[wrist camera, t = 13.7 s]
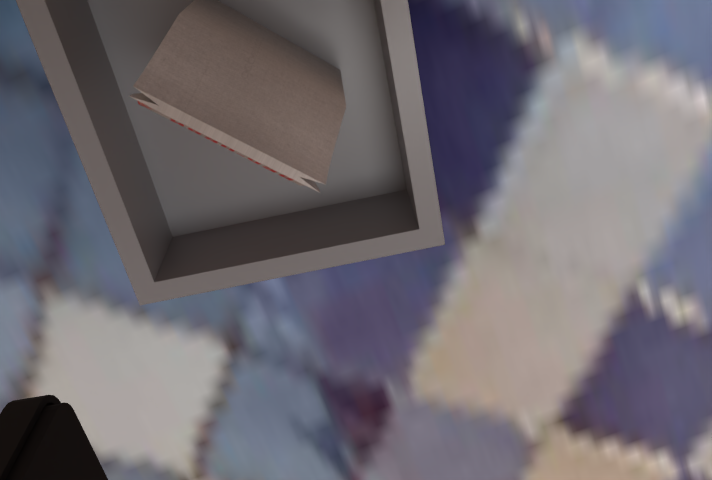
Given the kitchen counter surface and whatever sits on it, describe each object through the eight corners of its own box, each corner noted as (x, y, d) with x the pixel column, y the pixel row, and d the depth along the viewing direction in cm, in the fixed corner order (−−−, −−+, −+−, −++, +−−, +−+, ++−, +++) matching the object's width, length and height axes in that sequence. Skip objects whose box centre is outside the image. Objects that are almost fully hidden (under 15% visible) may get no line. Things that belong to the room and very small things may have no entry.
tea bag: (203, -8, 29) (155, 35, 20) (340, 70, 31) (351, 141, 22) (168, 67, 30) (109, 139, 22) (302, 138, 32) (298, 230, 23)
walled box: (40, -83, 28) (-17, -78, 23) (370, -156, 28) (382, -167, 23) (163, 248, 36) (140, 305, 31) (426, 195, 35) (444, 244, 30)
